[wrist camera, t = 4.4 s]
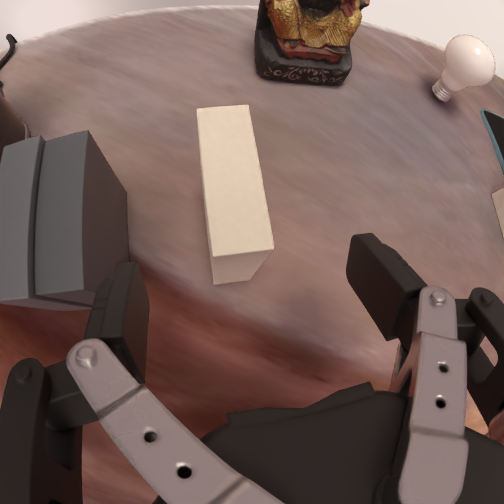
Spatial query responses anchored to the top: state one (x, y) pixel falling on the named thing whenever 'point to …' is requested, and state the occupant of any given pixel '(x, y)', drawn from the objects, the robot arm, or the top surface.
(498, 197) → the white books
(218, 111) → the white book
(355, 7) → the statue
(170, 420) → the robot arm
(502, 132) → the smartphone
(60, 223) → the grey books
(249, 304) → the top surface
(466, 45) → the lightbulb
